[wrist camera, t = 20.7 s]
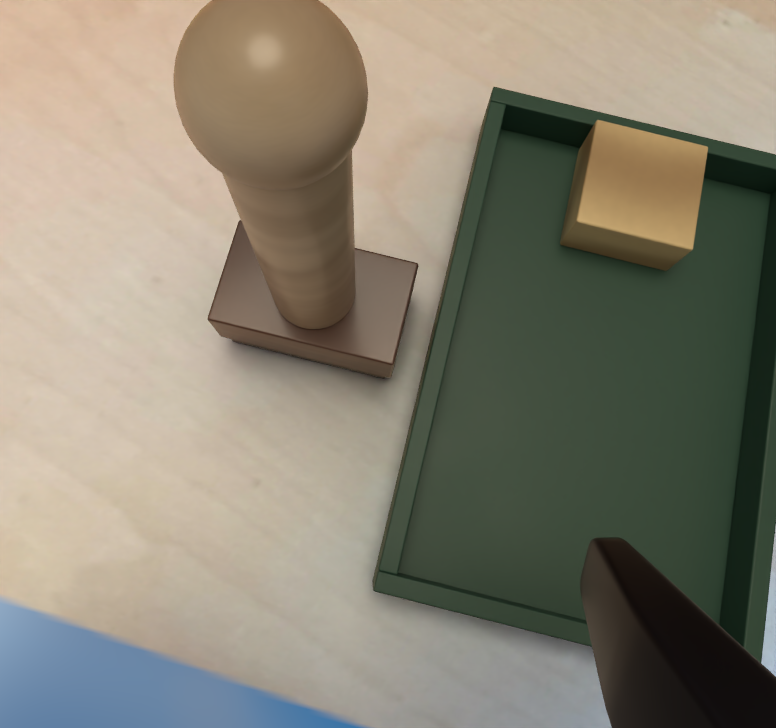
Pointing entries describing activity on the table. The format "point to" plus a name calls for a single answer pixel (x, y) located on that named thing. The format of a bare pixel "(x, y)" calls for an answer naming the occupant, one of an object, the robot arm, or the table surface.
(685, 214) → the golden tan square block
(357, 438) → the table surface
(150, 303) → the table surface
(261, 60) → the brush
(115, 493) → the table surface
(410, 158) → the table surface
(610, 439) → the tray
